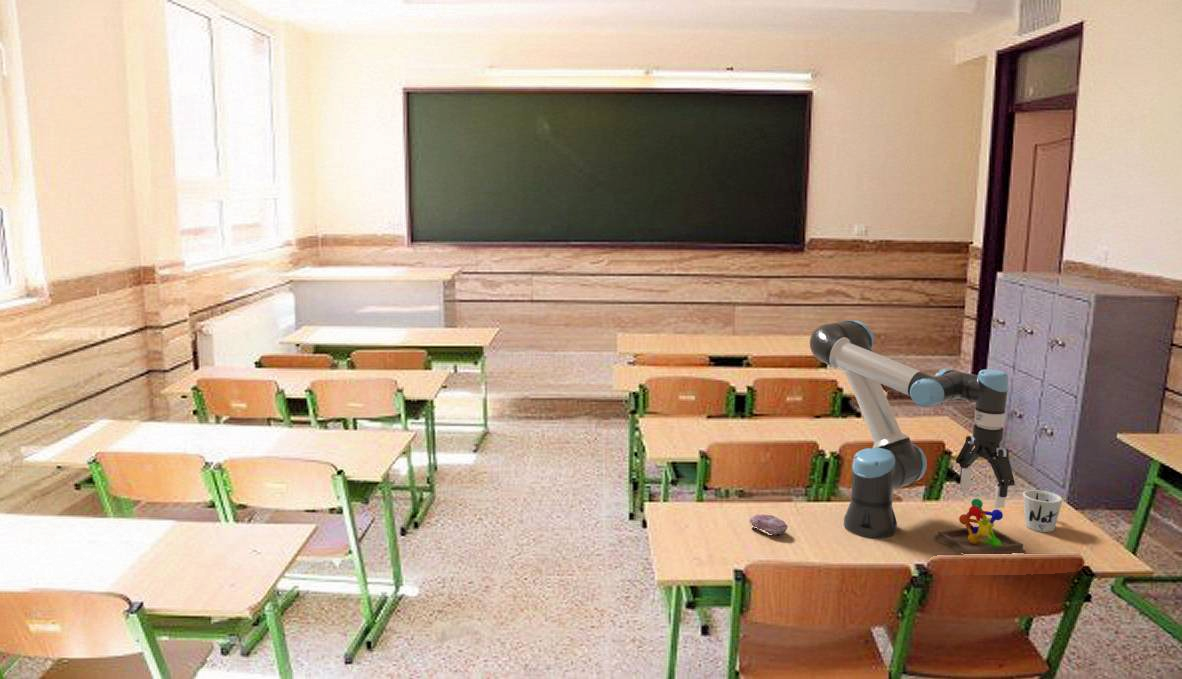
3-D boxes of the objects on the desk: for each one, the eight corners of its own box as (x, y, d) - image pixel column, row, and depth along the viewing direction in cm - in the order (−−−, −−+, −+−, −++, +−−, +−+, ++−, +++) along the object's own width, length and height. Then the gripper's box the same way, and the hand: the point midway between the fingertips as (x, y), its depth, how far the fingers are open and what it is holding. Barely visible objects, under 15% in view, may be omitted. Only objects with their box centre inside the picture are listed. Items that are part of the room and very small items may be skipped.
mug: (1023, 532, 245) (1026, 500, 243) (1014, 513, 259) (1016, 483, 257) (1063, 536, 242) (1066, 503, 240) (1051, 517, 256) (1054, 486, 254)
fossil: (773, 542, 239) (774, 525, 238) (741, 526, 251) (741, 510, 250) (794, 536, 243) (795, 519, 242) (762, 520, 255) (762, 504, 254)
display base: (934, 538, 241) (935, 530, 240) (983, 531, 245) (984, 523, 245) (973, 561, 225) (974, 553, 225) (1025, 554, 230) (1025, 545, 229)
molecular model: (1004, 550, 230) (1006, 510, 228) (981, 552, 229) (983, 512, 227) (978, 534, 241) (980, 496, 239) (956, 536, 240) (958, 498, 238)
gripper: (946, 414, 240) (940, 483, 244) (1011, 440, 216) (1003, 516, 220) (968, 412, 242) (962, 481, 246) (1034, 438, 218) (1026, 513, 222)
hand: (981, 498), depth 233 cm, fingers open, 13 cm apart
